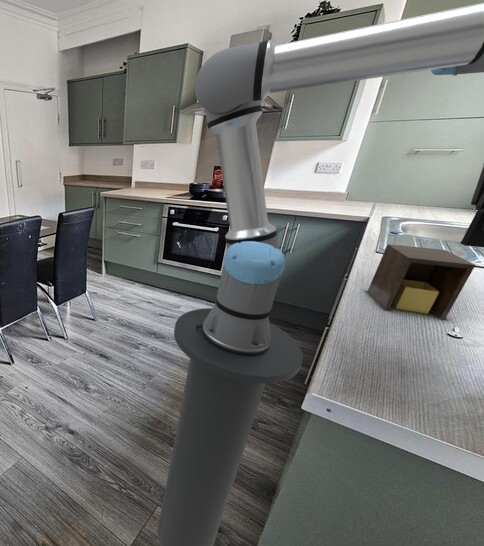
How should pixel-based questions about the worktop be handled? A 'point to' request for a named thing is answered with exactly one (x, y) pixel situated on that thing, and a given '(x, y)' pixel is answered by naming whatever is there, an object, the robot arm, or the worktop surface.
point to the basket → (415, 296)
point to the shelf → (420, 275)
